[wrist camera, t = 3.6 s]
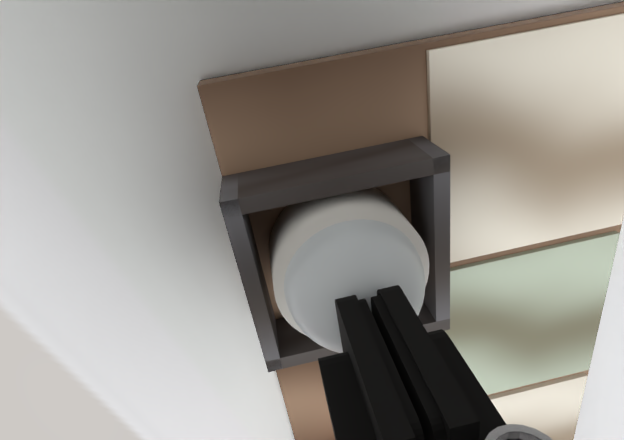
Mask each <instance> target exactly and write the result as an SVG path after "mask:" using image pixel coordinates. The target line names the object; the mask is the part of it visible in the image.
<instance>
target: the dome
mask: <svg viewBox="0 0 624 440" xmlns="http://www.w3.org/2000/svg"><path fill="white" fill-rule="evenodd" d="M269 256H270V264H271V272H272V280H273V289H274V295H275V300H276V303H277V306H278V308H279V310H280V312H281V314H282V316H283V317H284V318H285V320H286V321H287V322H288V323H289V324H290V325H291V326H292V327H293V328H295V329H296V330H298V331H299V332H301V333H302V334H304V335H306V336H308V337H309V338H310V339H312V340H313V341H314V342H316V343H317V344H319V345H320V346H322V347H324V348H326V349H329V350H331V351H334V352H338V353H343V349H342V343H341V337H340V331H339V325H338V319H337V313H336V307H335V299H338V298H343V297H347V296H352V295H356V296H357V298H358V300H360V299H364V298H365V299H366V301H367V303H368V306H369V308H370V310H371V312H372V309H371V297H373V296H377V290H378V289H382V288H387V287H391V286H395V285H399V286H400V287H401V289H402V290H403V292H404V294H405V295H406V297H407V299H408V301H409V302H410V304H411V306H412V307H413V309H414V311H415V312H416V314H417V316H418V315H419V313H420V310H421V307H422V304H423V301H424V296H425V287H426V284H427V281H428V276H429V256H428V252H427V249H426V246H425V244H424V242H423V240H422V238H421V237H420V235H419V234H418V233H417V231H416V230H415V229H414V228H413V226H412V225H411V224H410V223H409V221H408V220H407V219H406V218H405V216H404V215H403V214H402V213H401V212H400V210H399V209H398V208H397V207H396V205H395V204H394V203H393V202H392V201H391V200H390V198H389V197H388V196H386V195H385V194H384V193H383V192H381V191H379V190H378V189H376V188H374V187H373V188H369V189H364V190H359V191H354V192H349V193H345V194H340V195H335V196H330V197H326V198H321V199H316V200H311V201H307V202H302V203H297V204H292V205H287V206H286V207H285V208H284V210H283V211H282V212H281V213H280V215H279V217H278V218H277V220H276V222H275V224H274V226H273V229H272V232H271V235H270V241H269Z"/></svg>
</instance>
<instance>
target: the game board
mask: <svg viewBox="0 0 624 440" xmlns="http://www.w3.org/2000/svg"><path fill="white" fill-rule="evenodd" d="M197 88H198V91H199V95H200V99H201V102H202V106H203V109H204V113H205V117H206V120H207V124H208V127H209V131H210V135H211V138H212V142H213V145H214V149H215V153H216V156H217V160H218V163H219V167H220V171H221V174H222V182H221V191H220V200H219V203H220V207H221V210H222V214H223V217H224V221H225V224H226V228H227V231H228V234H229V238H230V241H231V245H232V248H233V252H234V255H235V259H236V262H237V265H238V269H239V272H240V276H241V279H242V283H243V286H244V290H245V293H246V296H247V300H248V303H249V307H250V310H251V314H252V317H253V321H254V324H255V327H256V331H257V334H258V338H259V341H260V345H261V348H262V352H263V355H264V358H265V362H266V365H267V369H268V372H271V371H275V370H276V372H277V376H278V380H279V383H280V387H281V390H282V394H283V398H284V401H285V405H286V409H287V412H288V416H289V419H290V423H291V427H292V430H293V434H294V437H295V440H335V436H334V432H333V427H332V423H331V419H330V414H329V410H328V405H327V401H326V396H325V391H324V387H323V382H322V377H321V372H320V368H319V363H318V358H322V357H326V356H330V355H334V354H339V353H338V352H334V351H331V350H329V349H326V348H324V347H322V346H320V345H319V344H317V343H316V342H314V341H313V340H312V339H310V338H309V337H308V336H306V335H304V334H302V333H301V332H299V331H298V330H296V329H295V328H293V327H292V326H291V325H290V324H289V323H288V322H287V321H286V320H285V318H284V317H283V316H282V314H281V312H280V310H279V308H278V306H277V303H276V300H275V295H274V289H273V280H272V272H271V264H270V256H269V241H270V235H271V232H272V229H273V226H274V224H275V222H276V220H277V218H278V217H279V215H280V213H281V212H282V211H283V210H284V208H285V207H286V206H287V205H292V204H297V203H302V202H307V201H311V200H316V199H321V198H326V197H330V196H335V195H340V194H345V193H349V192H354V191H359V190H364V189H369V188H373V187H374V188H376V189H378V190H379V191H381V192H383V193H384V194H385V195H386V196H388V197H389V198H390V200H391V201H392V202H393V203H394V204H395V205H396V207H397V208H398V209H399V210H400V212H401V213H402V214H403V215H404V216H405V218H406V219H407V220H408V221H409V223H410V224H411V225H412V226H413V228H414V229H415V230H416V231H417V233H418V234H419V235H420V237H421V238H422V240H423V242H424V244H425V246H426V249H427V252H428V256H429V276H428V281H427V284H426V287H425V296H424V301H423V304H422V307H421V310H420V313H419V315H418V317H419V319H420V321H421V322H422V324H423V326H424V327H425V329H426V331H427V332H431V331H436V330H440V329H442V330H444V331H445V332H446V333H447V334H448V336H449V337H450V339H451V340H452V342H453V343H454V345H455V346H456V348H457V349H458V351H459V352H460V354H461V356H462V357H463V359H464V360H465V362H466V363H467V365H468V366H469V368H470V369H471V371H472V372H473V374H474V375H475V377H476V378H477V380H478V382H479V383H480V385H481V386H482V388H483V389H484V391H485V392H486V394H487V395H488V397H489V398H490V400H491V401H492V403H493V404H494V406H495V408H496V409H497V411H498V412H499V414H500V415H501V417H502V418H503V420H504V421H505V423H506V424H519V425H525V426H528V427H532V428H535V429H537V430H539V431H541V432H542V433H544V434H546V435H548V436H549V437H550V438H551V439H552V440H573V439H574V434H575V430H576V425H577V421H578V416H579V412H580V407H581V403H582V399H583V394H584V390H585V385H586V381H587V376H588V371H589V368H590V363H591V359H592V354H593V350H594V345H595V341H596V336H597V332H598V328H599V323H600V319H601V314H602V310H603V305H604V301H605V297H606V292H607V288H608V283H609V279H610V274H611V270H612V265H613V261H614V257H615V252H616V248H617V243H618V239H619V234H620V229H621V225H622V221H623V217H624V2H619V3H614V4H608V5H603V6H597V7H592V8H587V9H581V10H576V11H571V12H565V13H560V14H555V15H549V16H544V17H539V18H533V19H528V20H522V21H517V22H512V23H506V24H501V25H496V26H490V27H485V28H480V29H474V30H469V31H463V32H458V33H453V34H447V35H442V36H437V37H431V38H426V39H421V40H415V41H410V42H405V43H399V44H394V45H388V46H383V47H378V48H372V49H367V50H362V51H356V52H351V53H346V54H340V55H335V56H330V57H324V58H319V59H313V60H308V61H303V62H297V63H292V64H287V65H281V66H276V67H271V68H265V69H260V70H255V71H249V72H244V73H238V74H233V75H228V76H222V77H217V78H212V79H206V80H201V81H200V82H199V83H198V85H197Z"/></svg>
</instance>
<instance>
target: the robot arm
mask: <svg viewBox="0 0 624 440" xmlns="http://www.w3.org/2000/svg"><path fill="white" fill-rule="evenodd" d="M335 307H336V313H337V319H338V325H339V331H340V337H341V343H342V349H343V353H339V354H334V355H330V356H326V357H322V358H318V363H319V368H320V372H321V377H322V382H323V387H324V391H325V396H326V401H327V405H328V410H329V414H330V419H331V423H332V427H333V432H334V436H335V440H552V439H551V438H550V437H549V436H548V435H546V434H544V433H542V432H541V431H539V430H537V429H535V428H532V427H528V426H525V425H519V424H506V423H505V421H504V420H503V418H502V417H501V415H500V414H499V412H498V411H497V409H496V408H495V406H494V404H493V403H492V401H491V400H490V398H489V397H488V395H487V394H486V392H485V391H484V389H483V388H482V386H481V385H480V383H479V382H478V380H477V378H476V377H475V375H474V374H473V372H472V371H471V369H470V368H469V366H468V365H467V363H466V362H465V360H464V359H463V357H462V356H461V354H460V352H459V351H458V349H457V348H456V346H455V345H454V343H453V342H452V340H451V339H450V337H449V336H448V334H447V333H446V332H445V331H444V330H442V329H440V330H436V331H431V332H427V331H426V329H425V327H424V326H423V324H422V322H421V321H420V319H419V317H418V316H417V314H416V312H415V311H414V309H413V307H412V306H411V304H410V302H409V301H408V299H407V297H406V295H405V294H404V292H403V290H402V289H401V287H400V286H399V285H395V286H391V287H387V288H382V289H378V290H377V296H373V297H371V309H372V312H371V310H370V308H369V306H368V303H367V301H366V299H365V298H364V299H360V300H358V298H357V296H356V295H352V296H347V297H343V298H338V299H335Z"/></svg>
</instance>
